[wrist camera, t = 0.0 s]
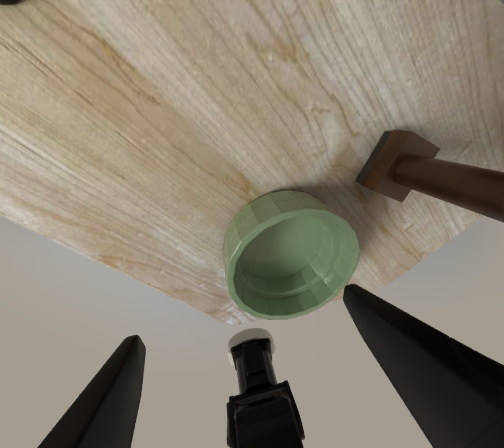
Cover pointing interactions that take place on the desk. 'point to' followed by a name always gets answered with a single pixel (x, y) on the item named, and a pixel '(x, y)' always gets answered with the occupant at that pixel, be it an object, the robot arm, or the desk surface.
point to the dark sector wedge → (7, 1)
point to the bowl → (288, 255)
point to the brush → (431, 175)
